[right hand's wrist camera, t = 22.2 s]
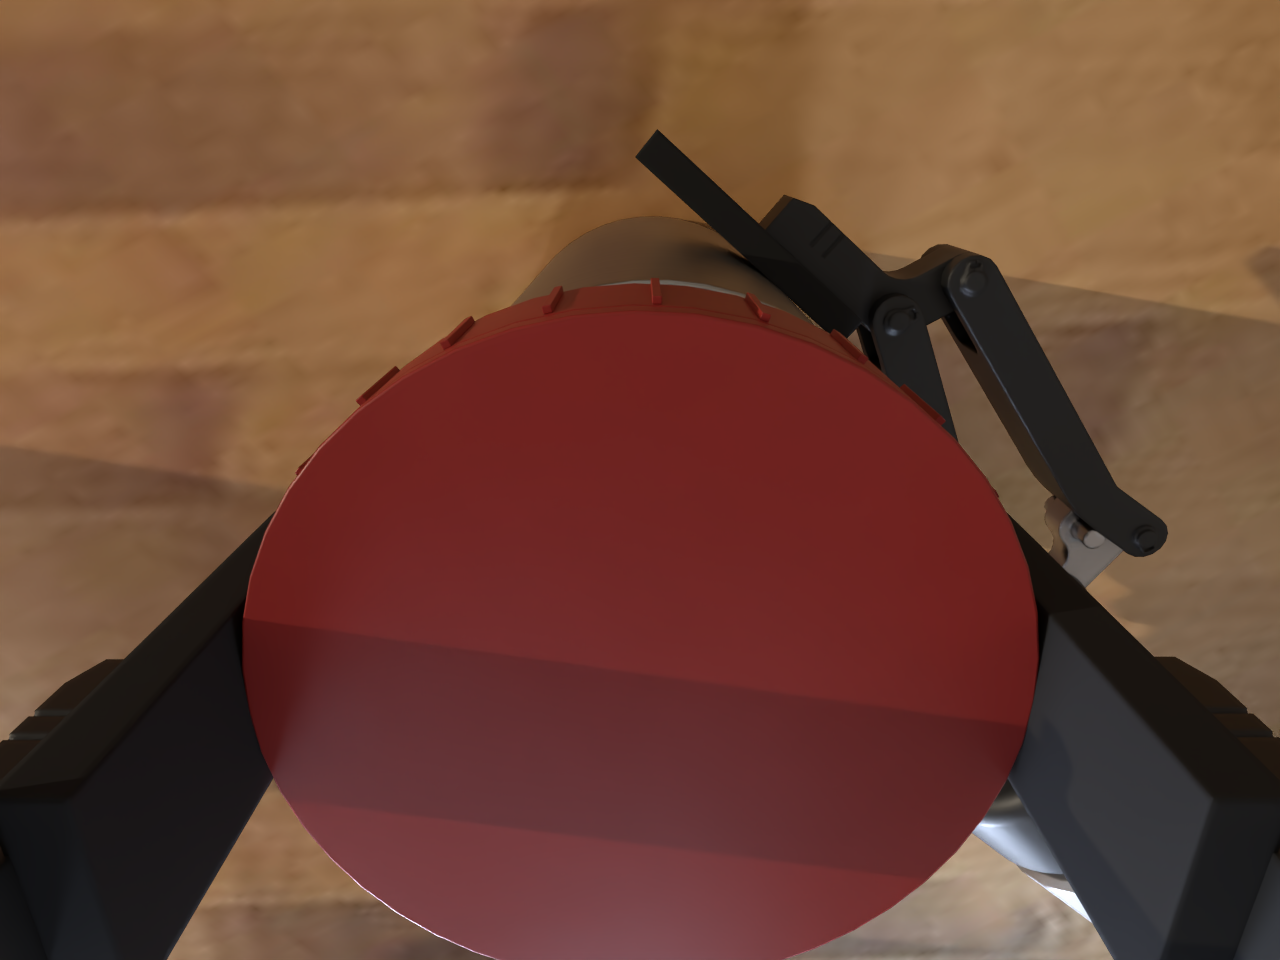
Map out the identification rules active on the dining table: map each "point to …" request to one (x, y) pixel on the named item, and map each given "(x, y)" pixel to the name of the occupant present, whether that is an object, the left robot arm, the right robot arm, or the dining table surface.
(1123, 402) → the dining table surface
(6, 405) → the dining table surface
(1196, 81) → the dining table surface
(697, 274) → the jar
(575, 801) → the lid
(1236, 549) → the dining table surface
